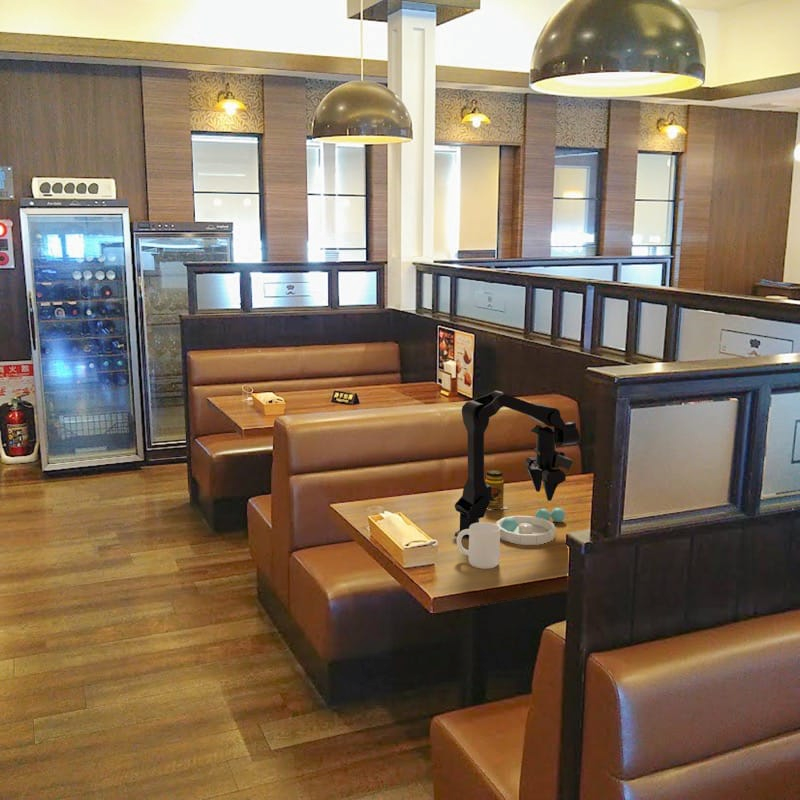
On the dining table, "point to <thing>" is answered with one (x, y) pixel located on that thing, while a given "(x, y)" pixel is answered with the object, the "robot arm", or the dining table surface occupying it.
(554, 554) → the dining table surface
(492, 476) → the condiment
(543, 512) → the bead
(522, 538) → the groove tray
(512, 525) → the bead
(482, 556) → the mug
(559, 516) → the bead
